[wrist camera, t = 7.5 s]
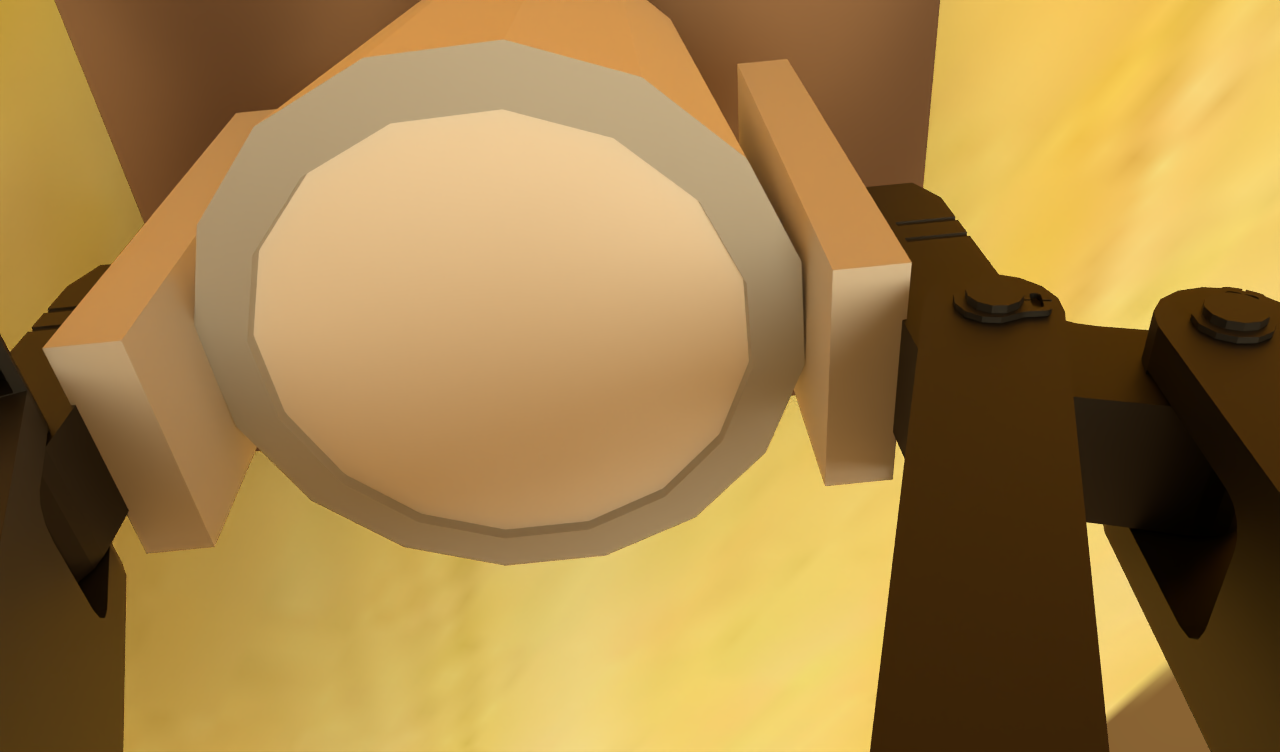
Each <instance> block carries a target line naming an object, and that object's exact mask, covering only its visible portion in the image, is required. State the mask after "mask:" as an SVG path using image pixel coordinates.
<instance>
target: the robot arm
mask: <svg viewBox="0 0 1280 752" xmlns="http://www.w3.org/2000/svg"><path fill="white" fill-rule="evenodd" d="M737 72H738V115H739V145H740V147H741V149H742V151H743V152H744V154H745V156H746V158H747V160H748V162H749V163H750V165H751V167H752V169H753V171H754V173H755V175H756V177H757V179H758V180H759V182H760V184H761V186H762V188H763V190H764V192H765V194H766V196H767V197H768V199H769V201H770V203H771V205H772V207H773V209H774V211H775V212H776V214H777V216H778V218H779V220H780V222H781V224H782V226H783V228H784V229H785V231H786V233H787V235H788V237H789V239H790V241H791V243H792V245H793V246H794V248H795V250H796V252H797V254H798V256H799V258H800V260H801V262H802V292H803V324H804V355H805V365H804V367H803V370H802V372H801V374H800V376H799V379H798V381H797V383H796V385H795V388H794V392H795V395H796V398H797V401H798V404H799V407H800V411H801V414H802V417H803V420H804V423H805V426H806V429H807V432H808V435H809V438H810V441H811V444H812V447H813V451H814V454H815V457H816V460H817V463H818V466H819V469H820V472H821V475H822V478H823V481H824V484H825V486H831V485H841V484H851V483H861V482H871V481H881V480H891V479H893V470H894V458H895V447H896V440H897V442H898V445H899V447H900V449H901V451H902V454H903V456H904V458H905V462H904V470H903V479H902V487H901V496H900V504H899V512H898V521H897V529H896V538H895V546H894V554H893V563H892V571H891V580H890V588H889V596H888V605H887V613H886V622H885V630H884V638H883V647H882V655H881V664H880V672H879V680H878V689H877V697H876V706H875V714H874V722H873V731H872V739H871V748H870V752H1109V744H1108V734H1107V724H1106V714H1105V704H1104V694H1103V684H1102V674H1101V664H1100V655H1099V645H1098V635H1097V625H1096V615H1095V605H1094V595H1093V585H1092V576H1091V566H1090V556H1089V546H1088V536H1087V526H1086V522H1089V523H1097V524H1103V526H1104V531H1105V534H1106V536H1107V538H1108V540H1109V542H1110V544H1111V546H1112V548H1113V550H1114V552H1115V554H1116V557H1117V559H1118V561H1119V563H1120V565H1121V567H1122V569H1123V571H1124V573H1125V575H1126V577H1127V579H1128V581H1129V583H1130V586H1131V588H1132V590H1133V592H1134V594H1135V596H1136V598H1137V600H1138V602H1139V604H1140V606H1141V608H1142V610H1143V612H1144V615H1145V617H1146V619H1147V621H1148V623H1149V625H1150V627H1151V629H1152V631H1153V633H1154V635H1155V637H1156V639H1157V641H1158V643H1159V646H1160V648H1161V650H1162V652H1163V654H1164V656H1165V658H1166V660H1167V662H1168V664H1169V666H1170V668H1171V670H1172V672H1173V675H1174V677H1175V679H1176V681H1177V683H1178V685H1179V687H1180V689H1181V691H1182V693H1183V695H1184V697H1185V699H1186V701H1187V704H1188V706H1189V708H1190V710H1191V712H1192V714H1193V716H1194V718H1195V720H1196V722H1197V724H1198V726H1199V728H1200V730H1201V732H1202V734H1203V737H1204V739H1205V741H1206V743H1207V745H1208V747H1209V749H1210V751H1211V752H1280V302H1277V301H1275V300H1273V299H1270V298H1268V297H1265V296H1264V295H1263V294H1260V293H1257V292H1253V291H1249V290H1246V291H1242V289H1239V288H1232V287H1223V288H1207V287H1201V288H1194V289H1187V290H1181V291H1177V292H1174V293H1172V294H1170V295H1168V296H1166V297H1164V298H1162V299H1160V301H1159V303H1158V305H1157V306H1156V308H1155V310H1154V312H1153V316H1152V319H1151V323H1150V327H1149V330H1138V329H1126V328H1113V327H1101V326H1092V325H1085V324H1077V323H1072V322H1068V321H1066V319H1065V311H1064V309H1063V307H1062V305H1061V303H1060V301H1059V299H1058V298H1057V297H1056V296H1055V295H1053V294H1052V293H1050V292H1049V291H1048V290H1046V289H1045V288H1044V287H1042V286H1040V285H1037V284H1034V283H1032V282H1029V281H1026V280H1024V279H1021V278H1017V277H1011V276H1004V275H999V274H998V273H997V272H996V270H995V269H994V268H993V266H992V265H991V264H990V262H989V261H988V260H987V258H986V257H985V256H984V254H983V253H982V252H981V250H980V249H979V248H978V246H977V245H976V244H975V242H974V241H973V240H972V238H971V237H970V236H967V232H966V230H965V229H964V228H963V226H962V225H961V224H960V222H959V221H958V220H955V216H954V214H953V213H952V212H951V210H950V209H949V208H948V206H947V205H946V204H945V202H944V201H943V200H942V198H941V197H939V196H937V195H935V194H933V193H931V192H929V191H928V190H926V189H924V188H922V187H920V186H918V185H916V184H914V183H902V184H892V185H881V186H871V187H865V185H864V184H863V182H862V180H861V179H860V177H859V176H858V174H857V172H856V171H855V169H854V167H853V166H852V164H851V162H850V161H849V159H848V158H847V156H846V154H845V153H844V151H843V149H842V148H841V146H840V144H839V143H838V141H837V140H836V138H835V136H834V135H833V133H832V131H831V130H830V128H829V126H828V125H827V123H826V122H825V120H824V118H823V117H822V115H821V113H820V112H819V110H818V108H817V107H816V105H815V104H814V102H813V100H812V99H811V97H810V95H809V94H808V92H807V90H806V89H805V87H804V86H803V84H802V82H801V81H800V79H799V77H798V76H797V74H796V72H795V71H794V69H793V68H792V66H791V64H790V63H789V61H788V59H782V60H771V61H761V62H751V63H741V64H737ZM275 110H276V109H272V110H262V111H252V112H241V113H236V114H235V115H234V116H233V117H232V119H231V120H230V121H229V122H228V124H227V125H226V126H225V127H224V128H223V130H222V131H221V132H220V133H219V134H218V136H217V137H216V138H215V139H214V141H213V142H212V143H211V144H210V145H209V147H208V148H207V149H206V150H205V151H204V153H203V154H202V155H201V156H200V158H199V159H198V160H197V161H196V162H195V164H194V165H193V166H192V167H191V168H190V170H189V171H188V172H187V173H186V175H185V176H184V177H183V178H182V179H181V181H180V182H179V183H178V184H177V185H176V187H175V188H174V189H173V190H172V192H171V193H170V194H169V195H168V196H167V198H166V199H165V200H164V201H163V202H162V204H161V205H160V206H159V207H158V208H157V210H156V211H155V212H154V213H153V215H152V216H151V217H150V218H149V219H148V221H147V222H146V223H145V224H144V225H143V227H142V228H141V229H140V230H139V232H138V233H137V234H136V235H135V236H134V238H133V239H132V240H131V241H130V242H129V244H128V245H127V246H126V247H125V249H124V250H123V251H122V252H121V253H120V255H119V256H118V257H117V258H116V259H115V261H114V262H113V263H112V264H109V265H100V266H98V267H97V268H95V269H94V270H92V271H91V272H89V273H88V274H86V275H84V276H83V277H81V278H80V279H78V280H77V281H75V282H74V283H72V284H70V285H69V286H67V287H66V289H65V290H64V291H63V292H62V293H61V294H60V295H59V297H58V298H57V299H56V300H55V301H54V302H53V303H52V305H51V306H50V307H49V308H48V313H44V314H43V315H42V316H41V317H40V318H39V320H38V321H37V322H36V323H35V324H34V325H33V327H32V329H33V331H32V332H27V333H26V335H25V336H24V337H23V338H22V339H21V340H20V341H19V343H18V344H17V345H16V346H15V347H14V348H13V350H12V351H11V352H9V350H8V348H7V346H6V344H5V342H4V340H3V338H2V337H1V335H0V752H123V731H124V677H125V622H126V573H125V570H124V567H123V564H122V562H121V560H120V558H119V556H118V554H117V552H116V550H115V549H114V547H113V545H112V541H113V539H114V537H115V535H116V533H117V532H118V530H119V528H120V526H121V524H122V523H123V521H124V519H125V517H126V515H127V516H128V518H129V520H130V522H131V524H132V526H133V528H134V530H135V532H136V534H137V535H138V537H139V539H140V541H141V543H142V545H143V547H144V549H145V551H146V553H156V552H167V551H177V550H187V549H197V548H207V547H215V544H216V542H217V540H218V537H219V535H220V533H221V530H222V528H223V526H224V523H225V521H226V519H227V516H228V514H229V511H230V509H231V507H232V504H233V502H234V500H235V497H236V495H237V493H238V490H239V488H240V486H241V483H242V481H243V478H244V476H245V474H246V471H247V469H248V467H249V464H250V462H251V460H252V457H253V455H254V453H255V450H256V448H257V447H256V446H255V445H254V444H253V443H252V442H251V441H250V440H249V439H248V438H247V437H246V436H245V435H244V434H243V433H242V432H241V431H240V430H239V429H238V428H237V427H236V424H235V422H234V420H233V418H232V416H231V413H230V411H229V409H228V407H227V404H226V402H225V400H224V398H223V395H222V393H221V391H220V389H219V386H218V384H217V381H216V379H215V376H214V374H213V371H212V369H211V366H210V364H209V361H208V359H207V356H206V354H205V351H204V349H203V346H202V344H201V341H200V339H199V336H198V334H197V331H196V328H195V326H194V311H195V271H196V232H197V224H198V222H199V221H200V219H201V217H202V215H203V214H204V212H205V210H206V209H207V207H208V205H209V203H210V202H211V200H212V198H213V196H214V195H215V193H216V191H217V190H218V188H219V186H220V184H221V183H222V181H223V179H224V177H225V176H226V174H227V172H228V171H229V169H230V167H231V165H232V164H233V162H234V160H235V158H236V157H237V155H238V153H239V152H240V150H241V148H242V146H243V145H244V143H245V141H246V139H247V138H248V136H249V134H250V133H251V131H252V129H253V127H254V126H255V125H257V124H258V123H259V122H261V121H262V120H263V119H264V118H266V117H267V116H268V115H270V114H271V113H272V112H274V111H275Z"/></svg>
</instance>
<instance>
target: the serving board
mask: <svg viewBox="0 0 1280 752" xmlns="http://www.w3.org/2000/svg"><path fill="white" fill-rule="evenodd" d="M419 1H421V0H55V3H56V5H57V8H58V10H59V13H60V15H61V18H62V20H63V22H64V25H65V27H66V30H67V32H68V35H69V37H70V40H71V42H72V45H73V47H74V50H75V52H76V55H77V57H78V60H79V62H80V65H81V67H82V70H83V72H84V74H85V77H86V79H87V82H88V84H89V87H90V89H91V92H92V94H93V97H94V99H95V102H96V104H97V107H98V109H99V112H100V114H101V117H102V119H103V122H104V124H105V127H106V129H107V131H108V134H109V136H110V139H111V141H112V144H113V146H114V149H115V151H116V154H117V156H118V159H119V161H120V164H121V166H122V169H123V171H124V174H125V176H126V179H127V181H128V184H129V186H130V188H131V191H132V193H133V196H134V198H135V201H136V203H137V206H138V208H139V211H140V213H141V216H142V218H143V221H144V223H146V222H147V221H148V219H149V218H150V217H151V216H152V215H153V213H154V212H155V211H156V210H157V208H158V207H159V206H160V205H161V204H162V202H163V201H164V200H165V199H166V198H167V196H168V195H169V194H170V193H171V192H172V190H173V189H174V188H175V187H176V185H177V184H178V183H179V182H180V181H181V179H182V178H183V177H184V176H185V175H186V173H187V172H188V171H189V170H190V168H191V167H192V166H193V165H194V164H195V162H196V161H197V160H198V159H199V158H200V156H201V155H202V154H203V153H204V151H205V150H206V149H207V148H208V147H209V145H210V144H211V143H212V142H213V141H214V139H215V138H216V137H217V136H218V134H219V133H220V132H221V131H222V130H223V128H224V127H225V126H226V125H227V124H228V122H229V121H230V120H231V119H232V117H233V116H234V115H235V114H236V113H241V112H252V111H262V110H272V109H278V108H279V107H280V106H282V105H283V104H284V103H286V102H287V101H288V100H290V99H291V98H292V97H294V96H295V95H296V94H298V93H299V92H300V91H302V90H303V89H304V88H306V87H307V86H308V85H310V84H311V83H312V82H313V81H315V80H316V79H317V78H319V77H320V76H321V75H323V74H324V73H325V72H327V71H328V70H329V69H331V68H332V67H333V66H335V65H336V64H337V63H339V62H340V61H341V60H343V59H344V58H345V57H347V56H348V55H349V54H351V53H352V52H353V51H355V50H356V49H357V48H359V47H360V46H361V45H363V44H364V43H365V42H366V41H368V40H369V39H370V38H372V37H373V36H374V35H376V34H377V33H378V32H380V31H381V30H382V29H384V28H385V27H386V26H388V25H389V24H390V23H392V22H393V21H394V20H396V19H397V18H398V17H400V16H401V15H402V14H404V13H405V12H406V11H408V10H409V9H410V8H412V7H413V6H414V5H415V4H417V3H418V2H419ZM647 1H649V2H650V3H651V4H652V5H654V6H655V7H656V8H657V9H659V10H660V11H661V12H662V13H663V14H665V15H666V16H667V17H668V18H670V19H671V21H672V23H673V25H674V27H675V28H676V30H677V32H678V34H679V36H680V37H681V39H682V41H683V43H684V45H685V47H686V48H687V50H688V52H689V54H690V56H691V58H692V59H693V61H694V63H695V65H696V67H697V68H698V70H699V72H700V74H701V76H702V78H703V79H704V81H705V83H706V85H707V87H708V89H709V90H710V92H711V94H712V96H713V98H714V99H715V101H716V103H717V105H718V107H719V109H720V110H721V112H722V114H723V116H724V118H725V120H726V121H727V123H728V125H729V127H730V129H731V130H732V132H733V134H734V136H735V138H736V140H737V141H738V143H739V115H738V72H737V64H741V63H751V62H761V61H771V60H782V59H788V61H789V63H790V64H791V66H792V68H793V69H794V71H795V72H796V74H797V76H798V77H799V79H800V81H801V82H802V84H803V86H804V87H805V89H806V90H807V92H808V94H809V95H810V97H811V99H812V100H813V102H814V104H815V105H816V107H817V108H818V110H819V112H820V113H821V115H822V117H823V118H824V120H825V122H826V123H827V125H828V126H829V128H830V130H831V131H832V133H833V135H834V136H835V138H836V140H837V141H838V143H839V144H840V146H841V148H842V149H843V151H844V153H845V154H846V156H847V158H848V159H849V161H850V162H851V164H852V166H853V167H854V169H855V171H856V172H857V174H858V176H859V177H860V179H861V180H862V182H863V184H864V185H865V187H871V186H881V185H892V184H902V183H914V184H916V185H918V186H920V187H922V188H923V181H924V170H925V159H926V148H927V137H928V126H929V115H930V104H931V93H932V82H933V71H934V60H935V49H936V38H937V27H938V16H939V5H940V0H647ZM791 395H795V392H794V390H793V392H792V394H791ZM255 451H261V450H260V449H259V448H258V447H257V448H256V450H255Z"/></svg>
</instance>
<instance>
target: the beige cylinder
mask: <svg viewBox="0 0 1280 752" xmlns="http://www.w3.org/2000/svg"><path fill="white" fill-rule="evenodd" d="M194 326H195V328H196V331H197V334H198V336H199V339H200V341H201V344H202V346H203V349H204V351H205V354H206V356H207V359H208V361H209V364H210V366H211V369H212V371H213V374H214V376H215V379H216V381H217V384H218V386H219V389H220V391H221V393H222V395H223V398H224V400H225V402H226V404H227V407H228V409H229V411H230V413H231V416H232V418H233V420H234V422H235V424H236V427H237V428H238V429H239V430H240V431H241V432H242V433H243V434H244V435H245V436H246V437H247V438H248V439H249V440H250V441H251V442H252V443H253V444H254V445H255V446H256V447H258V448H259V449H260V450H261V451H262V452H263V453H264V454H265V455H266V456H267V457H268V458H269V459H270V460H271V461H272V462H273V463H274V464H275V465H276V466H277V467H278V468H279V469H280V470H281V471H282V472H283V473H284V474H285V475H286V476H287V477H288V478H289V479H290V480H291V481H292V482H293V483H294V484H295V485H296V486H297V487H298V488H299V489H300V490H301V491H302V492H303V493H304V494H305V495H306V496H307V497H308V498H309V499H310V500H312V501H314V502H316V503H318V504H320V505H322V506H324V507H326V508H328V509H330V510H332V511H334V512H336V513H338V514H340V515H341V516H343V517H345V518H347V519H349V520H351V521H353V522H355V523H357V524H359V525H361V526H363V527H365V528H367V529H369V530H371V531H373V532H375V533H377V534H379V535H381V536H383V537H385V538H387V539H389V540H391V541H393V542H395V543H397V544H399V545H401V546H403V547H407V548H413V549H418V550H424V551H429V552H435V553H440V554H446V555H451V556H457V557H462V558H468V559H473V560H479V561H484V562H489V563H495V564H500V565H515V564H525V563H535V562H545V561H555V560H565V559H575V558H585V557H595V556H604V555H608V554H610V553H612V552H615V551H617V550H619V549H622V548H624V547H626V546H629V545H631V544H634V543H636V542H638V541H641V540H643V539H645V538H648V537H650V536H652V535H655V534H657V533H659V532H662V531H664V530H667V529H669V528H671V527H674V526H676V525H678V524H681V523H683V522H685V521H688V520H690V519H693V518H695V517H696V516H697V515H698V514H699V513H701V512H702V511H703V510H704V509H705V508H706V507H707V506H708V505H709V504H710V503H711V502H712V501H714V500H715V499H716V498H717V497H718V496H719V495H720V494H721V493H722V492H723V491H724V490H725V489H727V488H728V487H729V486H730V485H731V484H732V483H733V482H734V481H735V480H736V479H737V478H738V477H739V476H741V475H742V474H743V473H744V472H745V471H746V470H747V469H748V468H749V467H750V466H751V465H752V464H754V463H755V462H756V461H757V460H758V459H759V458H760V457H761V456H762V455H763V454H764V453H765V452H766V450H767V448H768V446H769V444H770V441H771V439H772V437H773V435H774V432H775V430H776V428H777V426H778V423H779V421H780V419H781V417H782V414H783V412H784V410H785V408H786V405H787V403H788V401H789V399H790V397H791V394H792V392H793V390H794V388H795V385H796V383H797V381H798V379H799V376H800V374H801V372H802V370H803V367H804V365H805V355H804V324H803V292H802V262H801V260H800V258H799V256H798V254H797V252H796V250H795V248H794V246H793V245H792V243H791V241H790V239H789V237H788V235H787V233H786V231H785V229H784V228H783V226H782V224H781V222H780V220H779V218H778V216H777V214H776V212H775V211H774V209H773V207H772V205H771V203H770V201H769V199H768V197H767V196H766V194H765V192H764V190H763V188H762V186H761V184H760V182H759V180H758V179H757V177H756V175H755V173H754V171H753V169H752V167H751V165H750V163H749V162H748V160H747V158H746V156H745V154H744V152H743V151H742V149H741V147H740V145H739V143H738V141H737V140H736V138H735V136H734V134H733V132H732V130H731V129H730V127H729V125H728V123H727V121H726V120H725V118H724V116H723V114H722V112H721V110H720V109H719V107H718V105H717V103H716V101H715V99H714V98H713V96H712V94H711V92H710V90H709V89H708V87H707V85H706V83H705V81H704V79H703V78H702V76H701V74H700V72H699V70H698V68H697V67H696V65H695V63H694V61H693V59H692V58H691V56H690V54H689V52H688V50H687V48H686V47H685V45H684V43H683V41H682V39H681V37H680V36H679V34H678V32H677V30H676V28H675V27H674V25H673V23H672V21H671V19H670V18H668V17H667V16H666V15H665V14H663V13H662V12H661V11H660V10H659V9H657V8H656V7H655V6H654V5H652V4H651V3H650V2H649V1H647V0H421V1H419V2H418V3H417V4H415V5H414V6H413V7H412V8H410V9H409V10H408V11H406V12H405V13H404V14H402V15H401V16H400V17H398V18H397V19H396V20H394V21H393V22H392V23H390V24H389V25H388V26H386V27H385V28H384V29H382V30H381V31H380V32H378V33H377V34H376V35H374V36H373V37H372V38H370V39H369V40H368V41H366V42H365V43H364V44H363V45H361V46H360V47H359V48H357V49H356V50H355V51H353V52H352V53H351V54H349V55H348V56H347V57H345V58H344V59H343V60H341V61H340V62H339V63H337V64H336V65H335V66H333V67H332V68H331V69H329V70H328V71H327V72H325V73H324V74H323V75H321V76H320V77H319V78H317V79H316V80H315V81H313V82H312V83H311V84H310V85H308V86H307V87H306V88H304V89H303V90H302V91H300V92H299V93H298V94H296V95H295V96H294V97H292V98H291V99H290V100H288V101H287V102H286V103H284V104H283V105H282V106H280V107H279V108H278V109H276V110H275V111H274V112H272V113H271V114H270V115H268V116H267V117H266V118H264V119H263V120H262V121H261V122H259V123H258V124H257V125H255V126H254V127H253V129H252V131H251V133H250V134H249V136H248V138H247V139H246V141H245V143H244V145H243V146H242V148H241V150H240V152H239V153H238V155H237V157H236V158H235V160H234V162H233V164H232V165H231V167H230V169H229V171H228V172H227V174H226V176H225V177H224V179H223V181H222V183H221V184H220V186H219V188H218V190H217V191H216V193H215V195H214V196H213V198H212V200H211V202H210V203H209V205H208V207H207V209H206V210H205V212H204V214H203V215H202V217H201V219H200V221H199V222H198V224H197V232H196V271H195V311H194Z"/></svg>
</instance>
